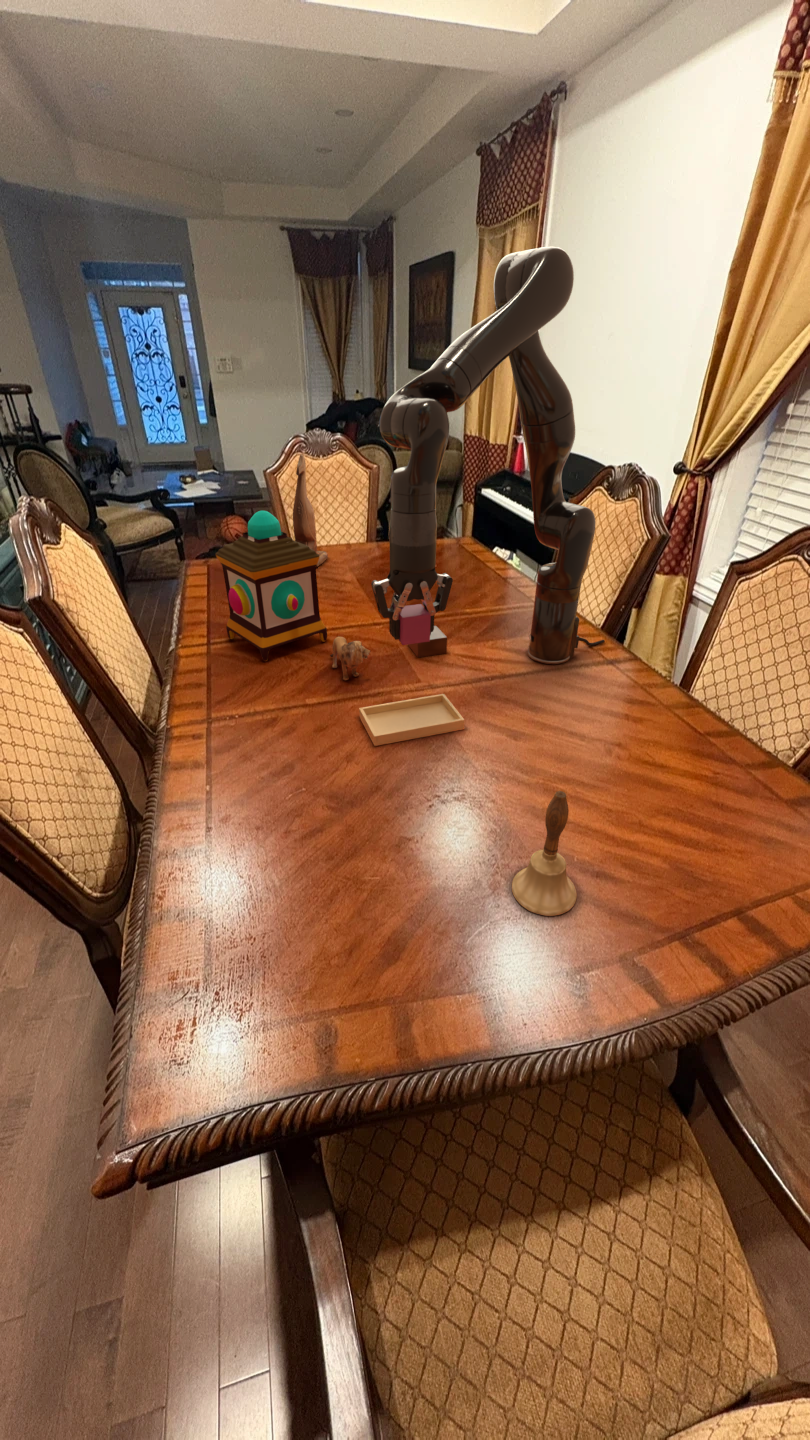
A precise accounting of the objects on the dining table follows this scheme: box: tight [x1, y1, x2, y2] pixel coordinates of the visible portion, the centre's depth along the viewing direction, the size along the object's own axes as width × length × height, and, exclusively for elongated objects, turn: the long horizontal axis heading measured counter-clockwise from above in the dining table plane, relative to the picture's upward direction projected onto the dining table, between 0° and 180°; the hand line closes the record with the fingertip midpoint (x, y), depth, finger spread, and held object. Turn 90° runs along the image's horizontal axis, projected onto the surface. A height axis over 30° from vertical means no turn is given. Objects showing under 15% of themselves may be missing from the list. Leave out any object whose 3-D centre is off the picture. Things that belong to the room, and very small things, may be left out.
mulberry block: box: [398, 603, 431, 646], centre depth 105 cm, size 5×5×5 cm
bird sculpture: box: [292, 454, 329, 568], centre depth 187 cm, size 11×12×32 cm
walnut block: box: [407, 625, 448, 658], centre depth 140 cm, size 7×7×4 cm
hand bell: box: [511, 790, 578, 917], centre depth 75 cm, size 8×8×16 cm
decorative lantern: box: [215, 510, 328, 662], centre depth 137 cm, size 20×20×30 cm
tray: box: [358, 693, 466, 747], centre depth 113 cm, size 17×10×2 cm, turn 109°
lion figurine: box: [329, 636, 371, 681], centre depth 129 cm, size 15×5×9 cm, turn 33°
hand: (411, 635), depth 106 cm, fingers closed on mulberry block, 5 cm apart
